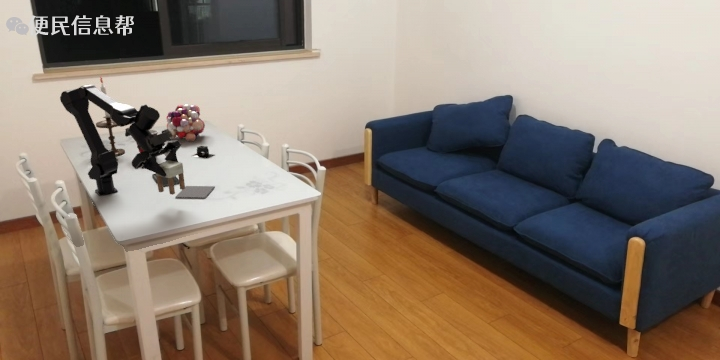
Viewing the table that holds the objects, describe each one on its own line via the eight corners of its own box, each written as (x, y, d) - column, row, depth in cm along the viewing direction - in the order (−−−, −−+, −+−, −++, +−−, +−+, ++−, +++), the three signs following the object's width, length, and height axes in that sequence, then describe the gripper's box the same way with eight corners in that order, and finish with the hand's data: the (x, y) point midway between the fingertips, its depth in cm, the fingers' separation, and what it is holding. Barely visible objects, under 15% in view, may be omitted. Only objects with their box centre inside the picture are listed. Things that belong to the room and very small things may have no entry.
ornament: (213, 137, 284) (198, 100, 284) (204, 133, 265) (188, 94, 264) (179, 150, 283) (164, 113, 283) (168, 147, 264) (152, 108, 263)
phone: (159, 185, 214) (151, 174, 226) (160, 188, 214) (151, 176, 226) (180, 181, 217) (171, 170, 230) (181, 184, 218) (171, 173, 230)
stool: (158, 191, 193) (154, 165, 190) (171, 185, 199) (168, 160, 195) (172, 194, 191) (168, 168, 187) (185, 188, 196) (182, 162, 193)
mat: (175, 198, 204) (175, 196, 203) (186, 187, 214) (186, 185, 214) (205, 198, 203) (205, 197, 203) (214, 187, 213) (214, 186, 213)
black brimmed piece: (219, 155, 252) (218, 146, 250) (210, 160, 245) (208, 150, 244) (196, 152, 256) (195, 143, 254) (186, 157, 250) (185, 147, 248)
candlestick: (121, 157, 249) (107, 78, 237) (97, 157, 250) (82, 78, 237) (131, 149, 260) (118, 73, 247) (107, 150, 260) (94, 74, 248)
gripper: (132, 130, 180) (163, 167, 180) (174, 117, 196) (202, 151, 195) (118, 150, 186) (148, 186, 186) (160, 136, 202) (187, 169, 201)
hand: (172, 172), depth 192 cm, fingers closed on stool, 6 cm apart
